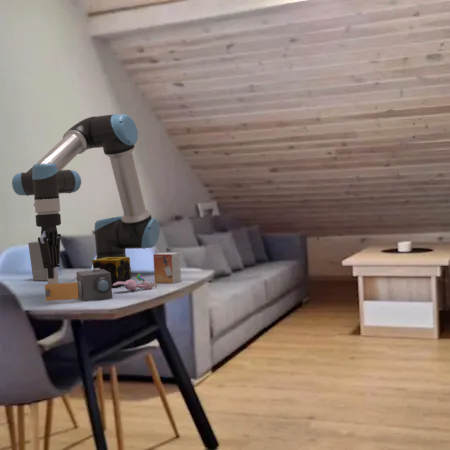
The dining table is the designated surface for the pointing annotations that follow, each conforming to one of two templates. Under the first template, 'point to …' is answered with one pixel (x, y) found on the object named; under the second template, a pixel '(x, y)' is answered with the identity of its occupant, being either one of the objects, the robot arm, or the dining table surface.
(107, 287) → the camera body
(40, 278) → the skincare box
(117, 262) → the candle
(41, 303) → the dining table surface
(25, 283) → the dining table surface
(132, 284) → the pink creature figurine
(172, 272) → the small box
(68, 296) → the side door
